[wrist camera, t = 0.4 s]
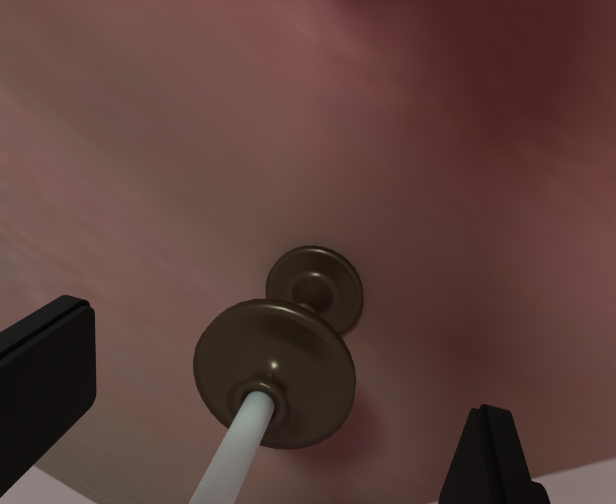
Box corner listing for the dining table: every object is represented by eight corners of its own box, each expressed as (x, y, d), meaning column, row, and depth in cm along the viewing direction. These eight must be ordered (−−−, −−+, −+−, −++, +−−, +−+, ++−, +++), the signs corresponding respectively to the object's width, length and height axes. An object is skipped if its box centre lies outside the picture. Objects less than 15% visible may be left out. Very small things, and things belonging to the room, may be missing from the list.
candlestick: (345, 219, 40) (72, 746, 8) (390, 325, 43) (320, 1058, 10) (240, 258, 44) (-248, 738, 11) (287, 354, 46) (-5, 973, 14)
